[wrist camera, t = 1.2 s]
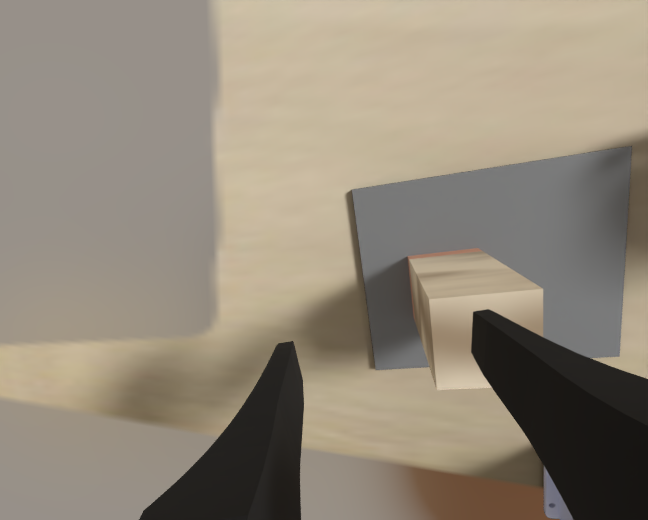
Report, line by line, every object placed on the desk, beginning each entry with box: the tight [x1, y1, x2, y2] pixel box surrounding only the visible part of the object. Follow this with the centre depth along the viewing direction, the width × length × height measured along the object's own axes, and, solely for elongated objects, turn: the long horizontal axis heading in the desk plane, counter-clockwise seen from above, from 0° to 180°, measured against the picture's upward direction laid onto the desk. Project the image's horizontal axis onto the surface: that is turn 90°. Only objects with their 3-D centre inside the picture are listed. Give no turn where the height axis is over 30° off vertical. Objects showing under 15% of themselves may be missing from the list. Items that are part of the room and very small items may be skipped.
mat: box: [352, 146, 632, 370], centre depth 23 cm, size 15×18×1 cm
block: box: [408, 248, 543, 390], centre depth 20 cm, size 5×5×9 cm
